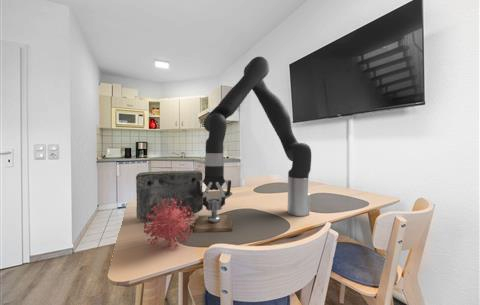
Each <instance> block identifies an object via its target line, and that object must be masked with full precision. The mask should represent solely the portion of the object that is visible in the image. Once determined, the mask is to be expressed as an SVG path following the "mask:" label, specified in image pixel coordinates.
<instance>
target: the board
mask: <svg viewBox="0 0 480 305" xmlns="http://www.w3.org/2000/svg"><path fill="white" fill-rule="evenodd" d="M210 215H211V214H208V215H198V216H197V219H196V221H195V224H194V227H193V228H194V229H193V233H203V232H204V233H206V232H210V233H211V232H233V224H232V217H231V214H218V215H219V216H220V222H219V223H214V224H212V223H209V222H208V216H210Z"/></svg>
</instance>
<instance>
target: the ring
mask: <svg viewBox="0 0 480 305" xmlns="http://www.w3.org/2000/svg"><path fill="white" fill-rule="evenodd" d="M212 200H217V202H212ZM222 208H223V206H222V198H216V197H215V198H214V197H213V198H208V199H207V200H206V207H205V210H207V211H210V212H211V211H217V212H218V211H220V210H222Z"/></svg>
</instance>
